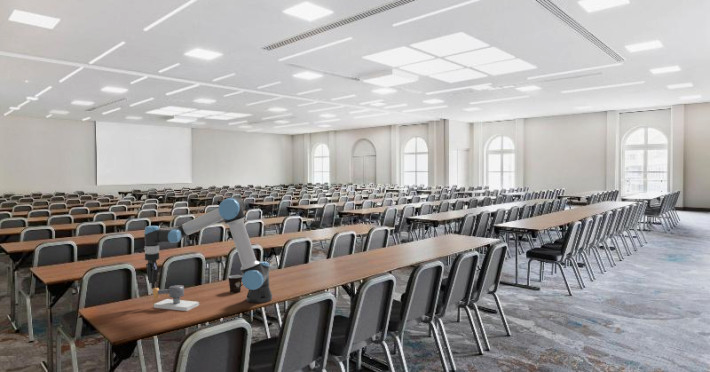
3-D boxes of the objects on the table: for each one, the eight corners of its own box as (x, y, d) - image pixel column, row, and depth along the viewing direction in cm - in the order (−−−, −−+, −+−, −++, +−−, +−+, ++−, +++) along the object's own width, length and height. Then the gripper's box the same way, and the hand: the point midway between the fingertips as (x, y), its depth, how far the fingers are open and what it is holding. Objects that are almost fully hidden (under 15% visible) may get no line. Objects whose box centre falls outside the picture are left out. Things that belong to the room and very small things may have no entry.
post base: (199, 305, 254) (198, 295, 254) (186, 311, 244) (186, 300, 244) (167, 302, 260) (166, 292, 260) (153, 307, 250) (153, 297, 250)
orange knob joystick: (185, 295, 257) (185, 284, 256) (182, 299, 249) (182, 288, 249) (154, 297, 253) (154, 286, 253) (151, 301, 245) (151, 289, 245)
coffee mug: (228, 294, 278) (228, 278, 278) (228, 290, 287) (228, 275, 286) (247, 292, 281) (247, 277, 281) (246, 289, 290) (246, 274, 289)
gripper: (141, 252, 254) (141, 292, 254) (149, 255, 244) (149, 297, 245) (154, 250, 259) (155, 290, 260) (163, 253, 250) (163, 294, 250)
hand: (152, 293), depth 252 cm, fingers closed
